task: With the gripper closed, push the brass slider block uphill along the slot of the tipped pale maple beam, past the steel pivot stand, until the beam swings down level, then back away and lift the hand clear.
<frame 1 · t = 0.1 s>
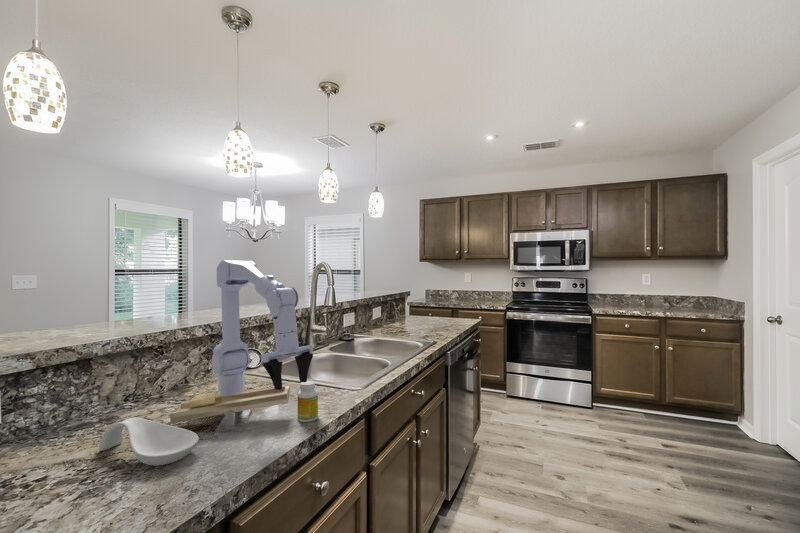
hand: (291, 385, 94), 11 cm above the worktop, tool pointing down, fingers open, 7 cm apart
beam: (234, 403, 97), point 5 cm above the worktop, hinge at 5.3°, touching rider
stand: (234, 422, 97), on the worktop
supplement bottle: (307, 419, 99), on the worktop
spoon rest: (146, 456, 80), on the worktop
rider: (206, 407, 95), point 5 cm above the worktop, tilted 5°, touching beam
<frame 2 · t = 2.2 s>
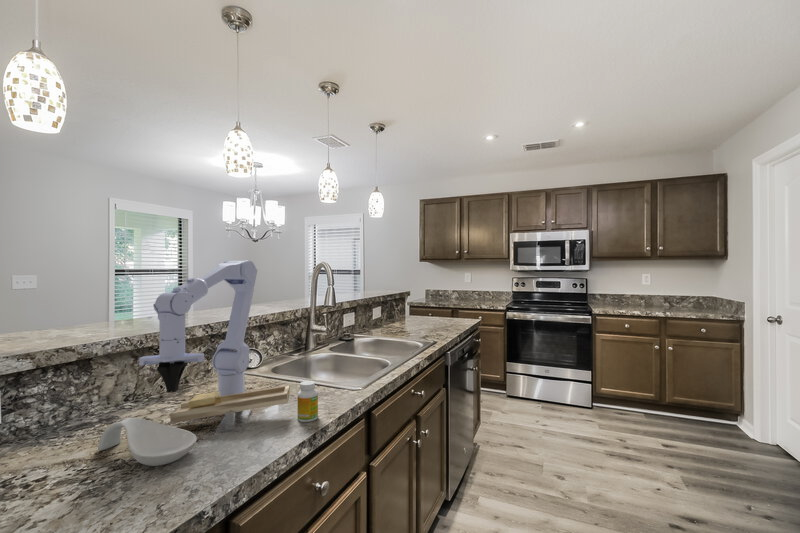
hand: (172, 391, 94), 9 cm above the worktop, tool pointing down, fingers closed
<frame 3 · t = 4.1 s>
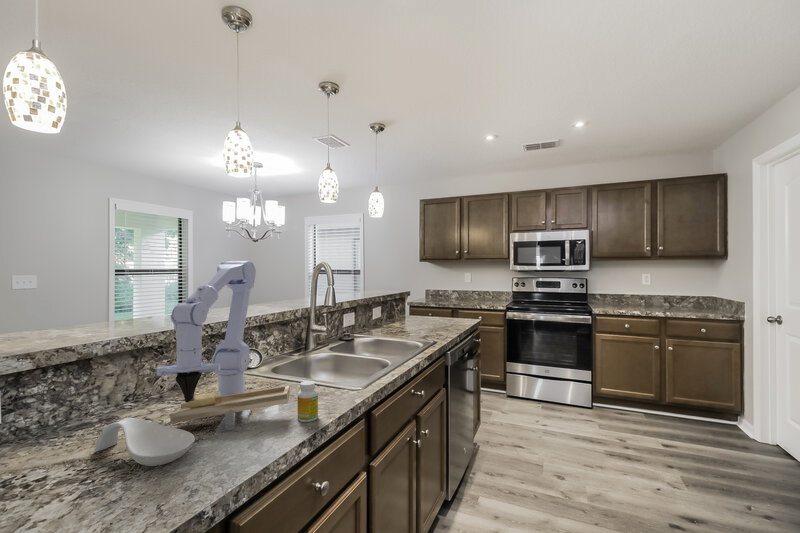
hand: (189, 401, 94), 7 cm above the worktop, tool pointing down, fingers closed
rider: (206, 407, 95), point 5 cm above the worktop, tilted 5°, touching beam, gripper
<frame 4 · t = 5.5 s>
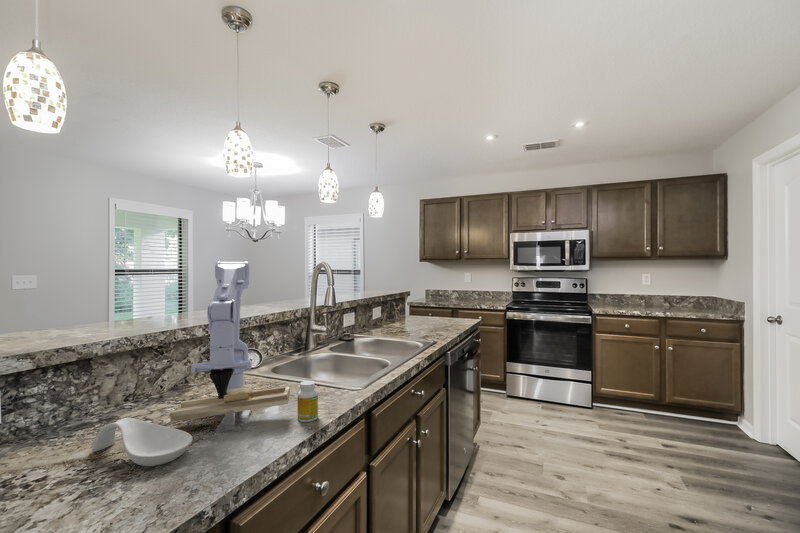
hand: (222, 397, 96), 7 cm above the worktop, tool pointing down, fingers closed
beam: (234, 403, 97), point 5 cm above the worktop, hinge at 4.3°, touching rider
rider: (239, 402, 97), point 5 cm above the worktop, touching beam, gripper
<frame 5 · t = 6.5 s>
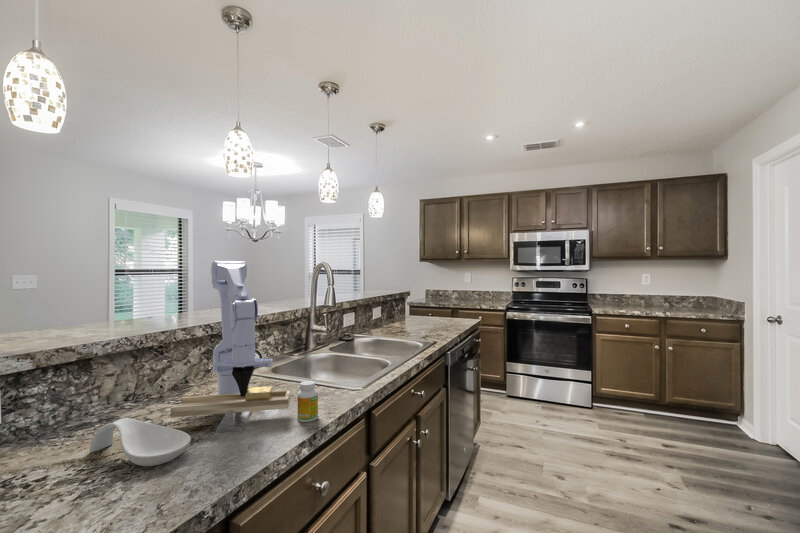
hand: (243, 395, 97), 7 cm above the worktop, tool pointing down, fingers closed
beam: (234, 403, 97), point 5 cm above the worktop, hinge at -0.6°
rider: (259, 400, 98), point 5 cm above the worktop, touching gripper
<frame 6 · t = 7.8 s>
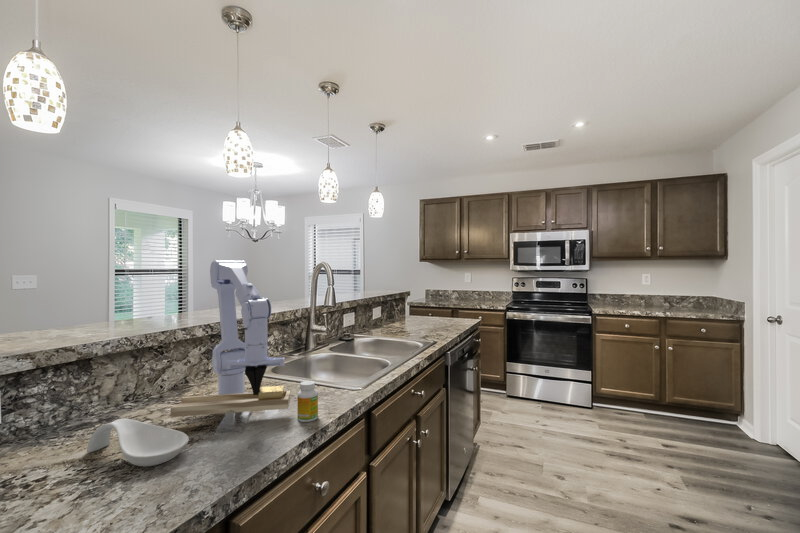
hand: (256, 393, 98), 7 cm above the worktop, tool pointing down, fingers closed
beam: (234, 403, 97), point 5 cm above the worktop, hinge at -0.7°, touching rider
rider: (271, 400, 99), point 5 cm above the worktop, touching beam, gripper
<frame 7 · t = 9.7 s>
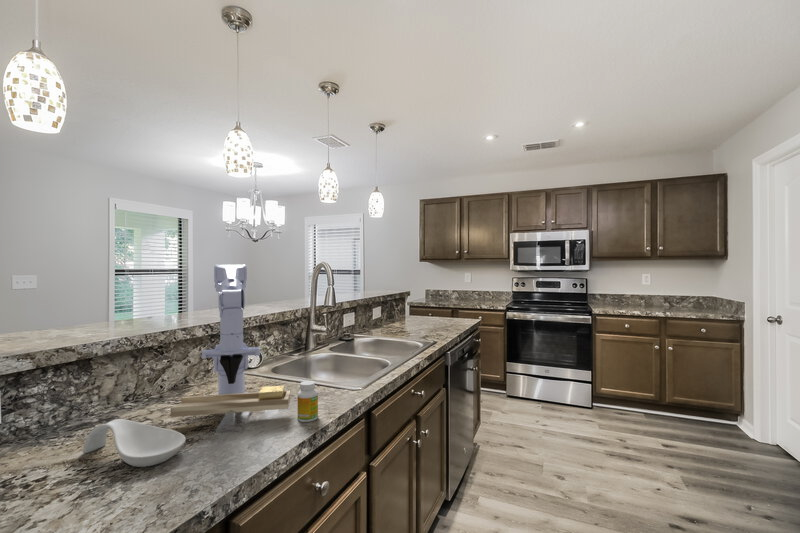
hand: (231, 382, 99), 10 cm above the worktop, tool pointing down, fingers closed
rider: (271, 400, 99), point 5 cm above the worktop, touching beam
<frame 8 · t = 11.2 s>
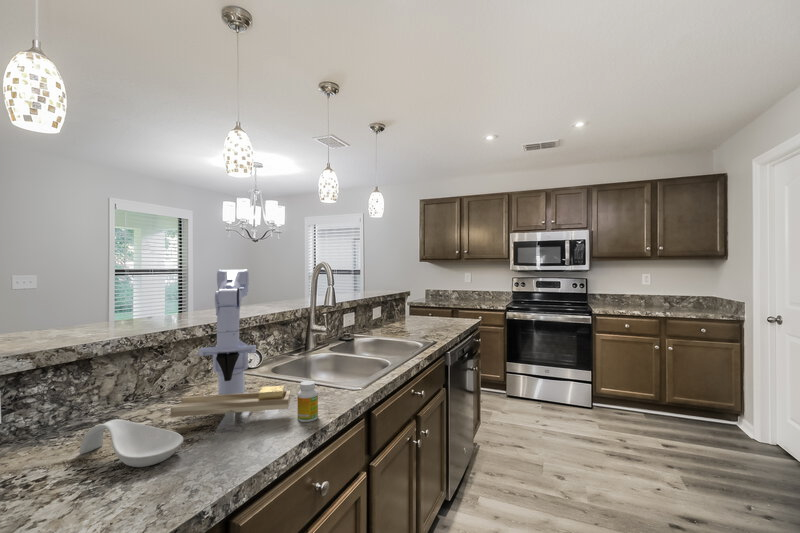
hand: (228, 380, 101), 10 cm above the worktop, tool pointing down, fingers closed
at the end: beam at -1° (first picture: +5°); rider inside the target area on the beam (0.7 cm from its centre), point 1.1 cm above the beam's base; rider touching beam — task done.
